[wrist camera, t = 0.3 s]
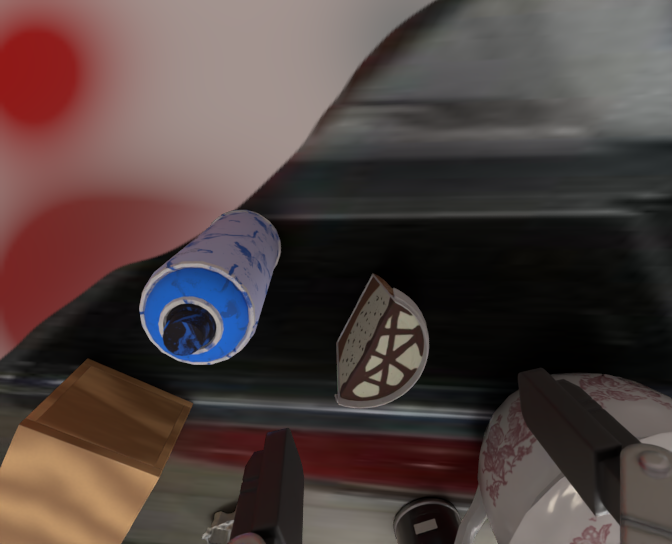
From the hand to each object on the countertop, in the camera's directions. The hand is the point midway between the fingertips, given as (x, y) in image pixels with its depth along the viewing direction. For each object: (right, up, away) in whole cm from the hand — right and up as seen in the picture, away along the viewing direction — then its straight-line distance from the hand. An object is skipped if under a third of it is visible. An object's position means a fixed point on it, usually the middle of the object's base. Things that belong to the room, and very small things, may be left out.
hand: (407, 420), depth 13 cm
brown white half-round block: (+2, 0, +31) cm, 31 cm away
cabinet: (-29, -14, +33) cm, 47 cm away
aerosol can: (-12, +8, +27) cm, 31 cm away
